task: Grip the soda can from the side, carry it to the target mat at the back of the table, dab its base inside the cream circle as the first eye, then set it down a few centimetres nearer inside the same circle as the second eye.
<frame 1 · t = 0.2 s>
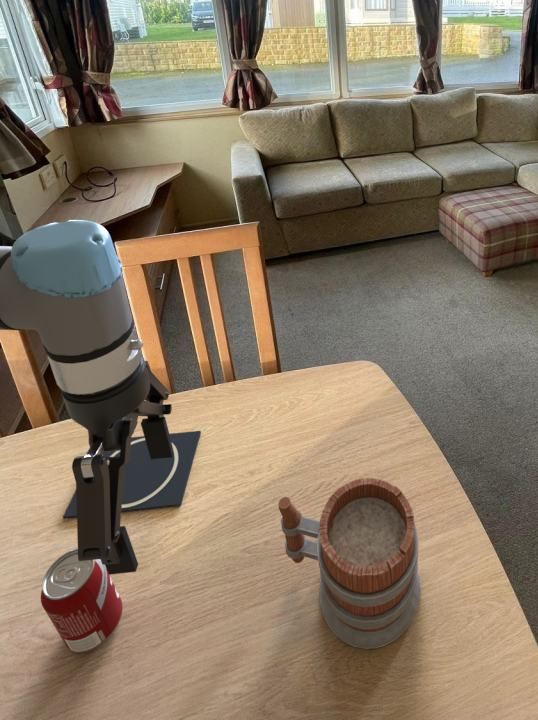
hand: (145, 506, 57), 20 cm above the table, tool pointing down, fingers open, 13 cm apart
mug: (352, 582, 68), on the table
soda can: (96, 624, 64), on the table
target mat: (138, 471, 83), on the table
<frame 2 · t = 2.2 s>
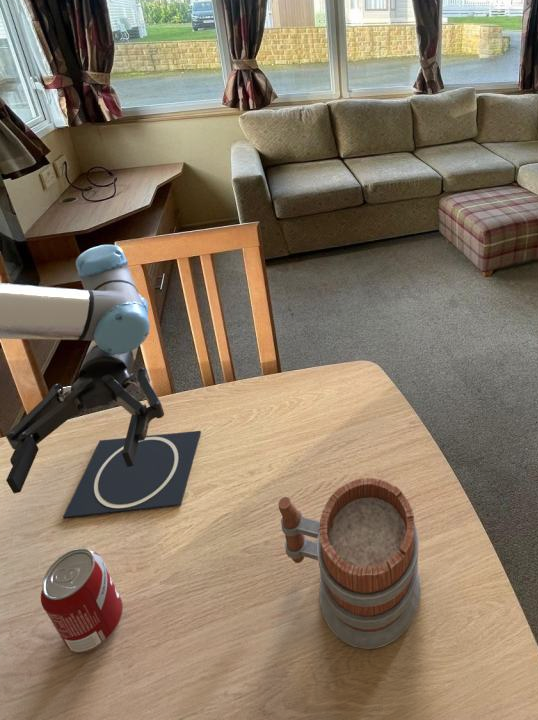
hand: (71, 473, 63), 18 cm above the table, tool horizontal, fingers open, 13 cm apart
nothing on the table moved.
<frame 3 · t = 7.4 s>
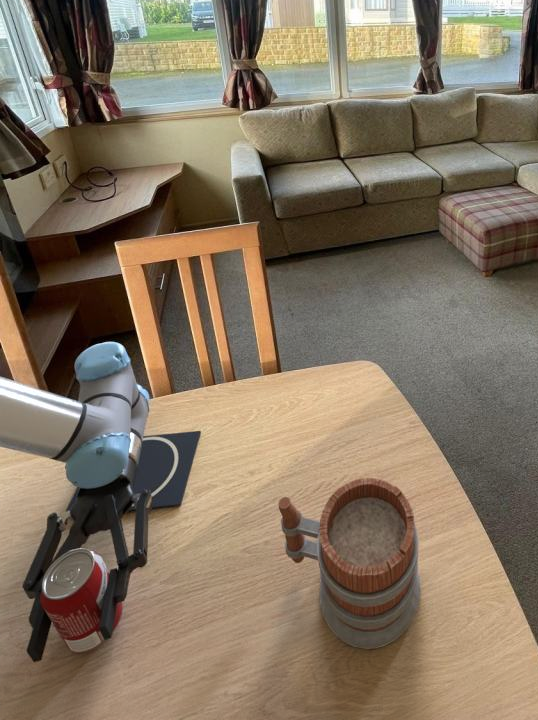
hand: (70, 644, 57), 7 cm above the table, tool horizontal, fingers closed on soda can, 7 cm apart
soda can: (96, 624, 64), on the table, touching gripper
everything else where it was.
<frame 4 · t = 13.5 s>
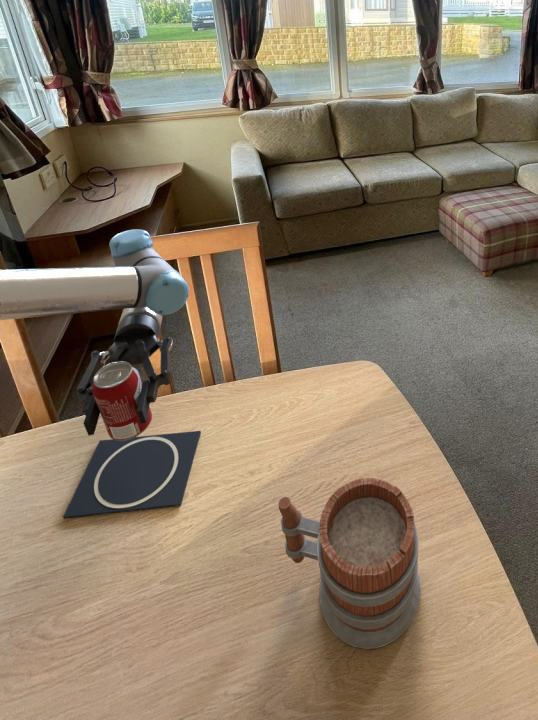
hand: (115, 422, 75), 15 cm above the table, tool horizontal, fingers closed on soda can, 7 cm apart
soda can: (131, 427, 82), point 8 cm above the table, touching gripper
everything else where it was.
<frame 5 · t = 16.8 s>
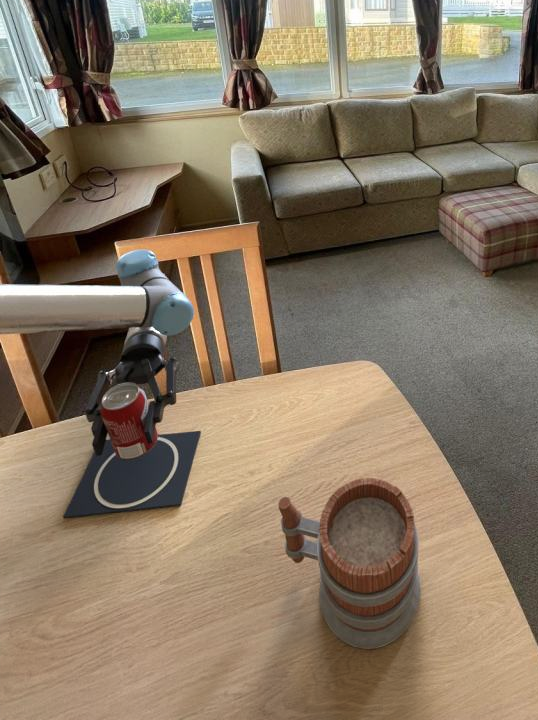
hand: (123, 443, 77), 10 cm above the table, tool horizontal, fingers closed on soda can, 7 cm apart
soda can: (138, 446, 84), point 3 cm above the table, touching gripper
everything else where it was.
when the fingers open (7 cm above the table, at t = 19.6 s): soda can stays where it is, resting on target mat.
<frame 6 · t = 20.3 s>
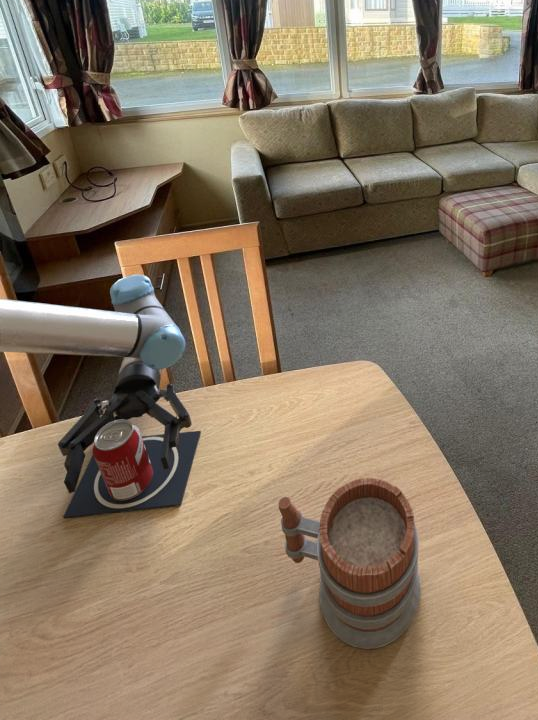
hand: (118, 475, 75), 7 cm above the table, tool horizontal, fingers open, 13 cm apart
soda can: (132, 484, 81), resting on target mat
everything else where it was.
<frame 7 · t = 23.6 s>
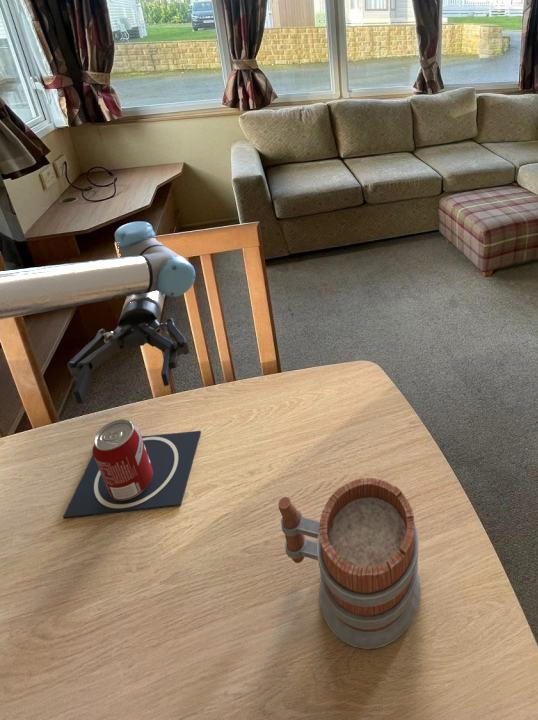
hand: (122, 388, 83), 13 cm above the table, tool horizontal, fingers open, 13 cm apart
nothing on the table moved.
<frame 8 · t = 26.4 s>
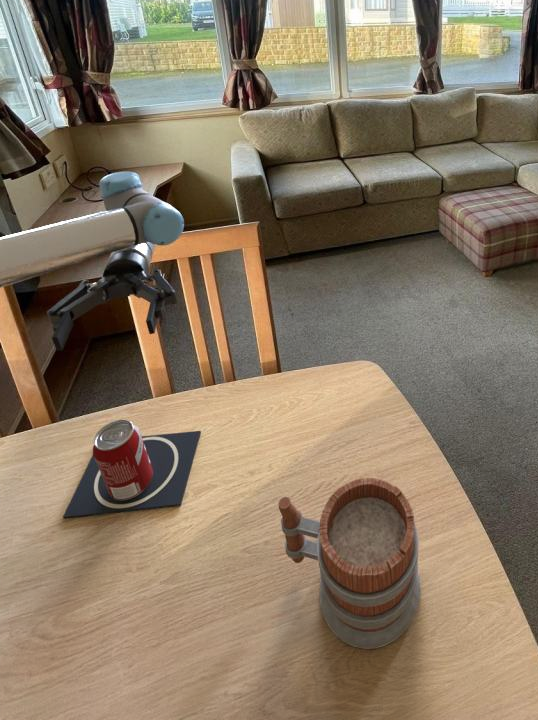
hand: (104, 335, 78), 25 cm above the table, tool horizontal, fingers open, 13 cm apart
nothing on the table moved.
at the end: soda can 0.0 cm from the target spot on the target mat, point 0.3 cm above the target mat's base; soda can tilted 0°; the gripper is holding nothing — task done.
